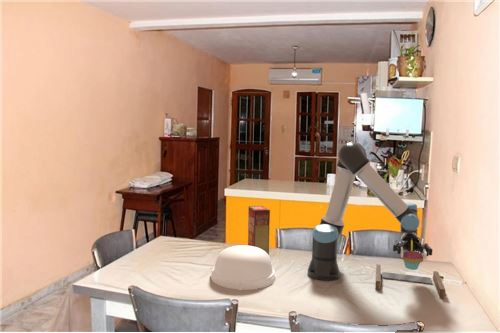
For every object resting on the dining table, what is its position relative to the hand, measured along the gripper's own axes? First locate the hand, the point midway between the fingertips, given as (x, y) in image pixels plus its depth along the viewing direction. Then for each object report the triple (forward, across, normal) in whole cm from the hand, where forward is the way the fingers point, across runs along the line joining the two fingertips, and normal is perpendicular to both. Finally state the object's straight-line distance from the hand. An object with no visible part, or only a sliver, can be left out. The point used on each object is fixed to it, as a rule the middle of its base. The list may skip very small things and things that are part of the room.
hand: (413, 255), depth 169 cm
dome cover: (-3, +73, -20) cm, 76 cm away
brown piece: (-22, 0, -20) cm, 29 cm away
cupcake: (-5, 0, -7) cm, 9 cm away
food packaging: (-45, +78, -20) cm, 92 cm away
